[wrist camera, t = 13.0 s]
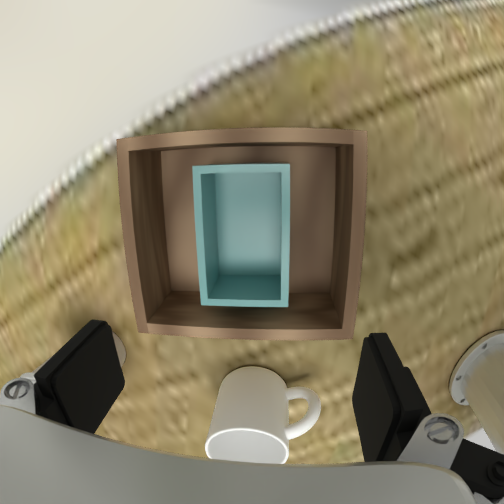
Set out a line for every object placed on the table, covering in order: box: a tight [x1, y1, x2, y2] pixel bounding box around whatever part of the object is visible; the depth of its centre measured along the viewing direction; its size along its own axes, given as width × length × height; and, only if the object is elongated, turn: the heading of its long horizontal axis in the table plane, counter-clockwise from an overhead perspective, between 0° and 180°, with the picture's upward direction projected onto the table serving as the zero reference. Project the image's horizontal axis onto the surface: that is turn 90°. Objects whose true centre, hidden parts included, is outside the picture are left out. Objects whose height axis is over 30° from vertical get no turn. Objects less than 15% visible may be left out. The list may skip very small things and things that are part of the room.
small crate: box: [192, 163, 290, 307], centre depth 26 cm, size 7×11×6 cm, turn 1°
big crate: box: [117, 127, 367, 340], centre depth 26 cm, size 18×16×8 cm
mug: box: [205, 366, 321, 464], centre depth 31 cm, size 12×8×10 cm
